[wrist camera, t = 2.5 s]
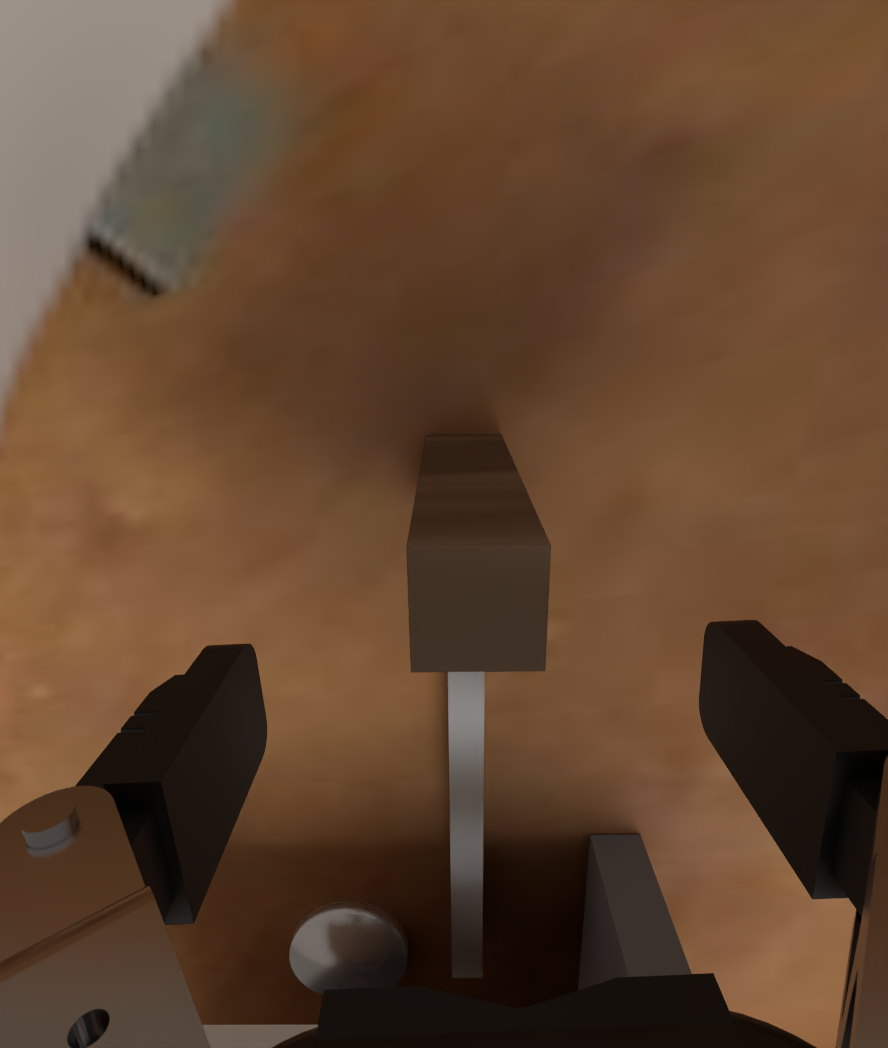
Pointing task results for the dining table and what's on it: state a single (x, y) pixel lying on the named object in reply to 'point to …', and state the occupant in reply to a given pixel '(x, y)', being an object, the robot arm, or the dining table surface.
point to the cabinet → (607, 940)
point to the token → (348, 947)
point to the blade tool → (473, 628)
